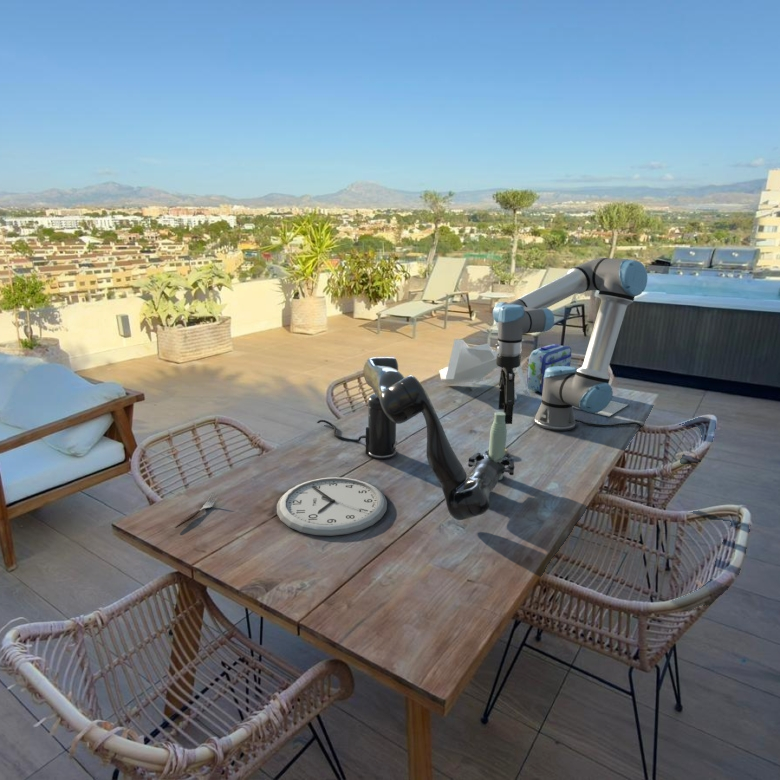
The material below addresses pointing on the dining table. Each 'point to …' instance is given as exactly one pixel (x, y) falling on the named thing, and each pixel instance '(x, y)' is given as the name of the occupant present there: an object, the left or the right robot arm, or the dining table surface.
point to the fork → (206, 505)
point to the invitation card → (611, 408)
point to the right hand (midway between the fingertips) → (504, 415)
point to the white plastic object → (473, 365)
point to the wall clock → (331, 506)
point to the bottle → (498, 438)
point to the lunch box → (546, 363)
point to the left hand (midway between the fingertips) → (498, 454)
